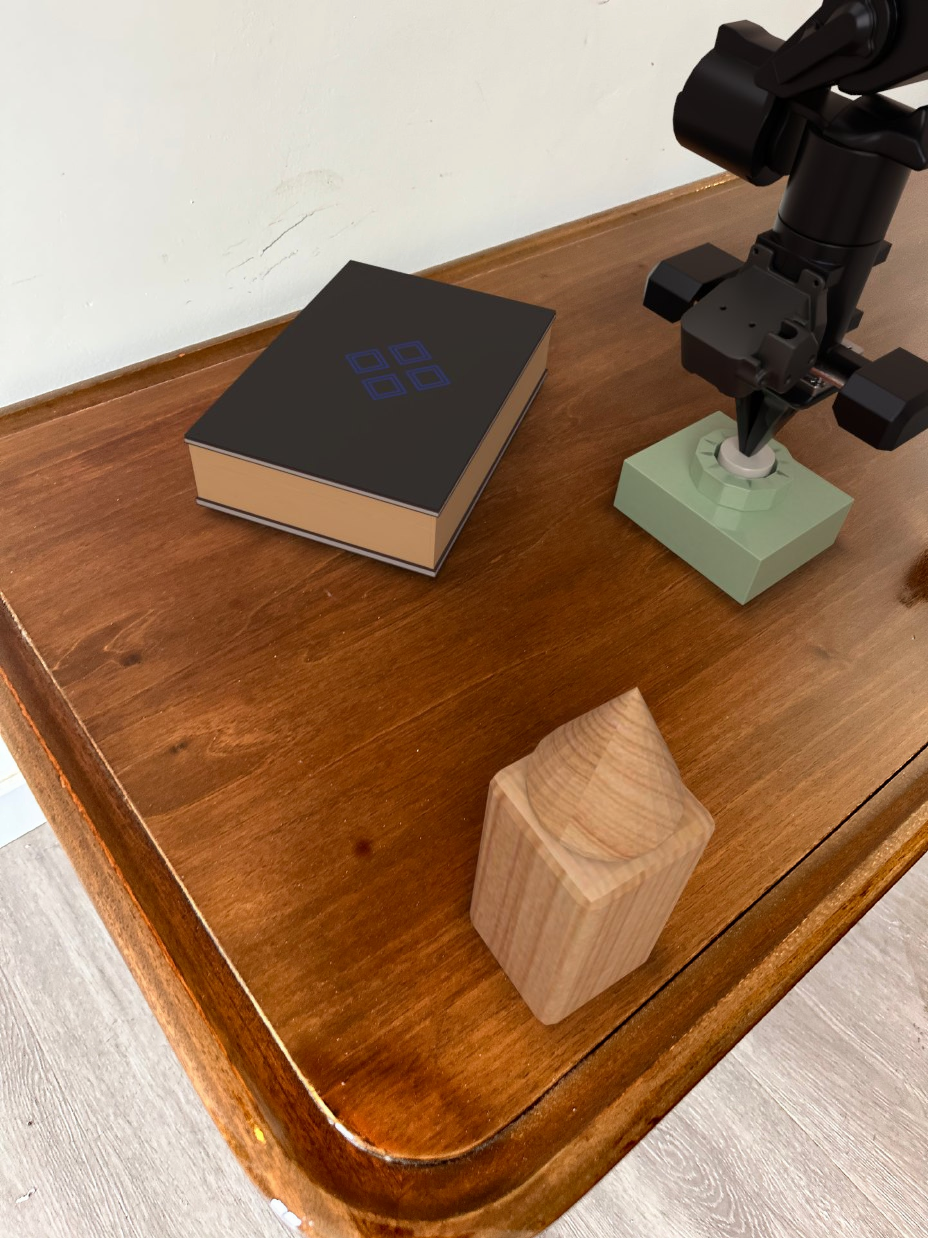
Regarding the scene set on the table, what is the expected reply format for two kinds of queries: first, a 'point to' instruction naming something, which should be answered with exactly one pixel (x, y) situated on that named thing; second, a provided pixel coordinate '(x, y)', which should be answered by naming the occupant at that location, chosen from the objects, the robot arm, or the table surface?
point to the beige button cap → (745, 460)
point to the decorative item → (585, 856)
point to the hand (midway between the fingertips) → (748, 452)
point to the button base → (730, 508)
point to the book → (375, 415)
